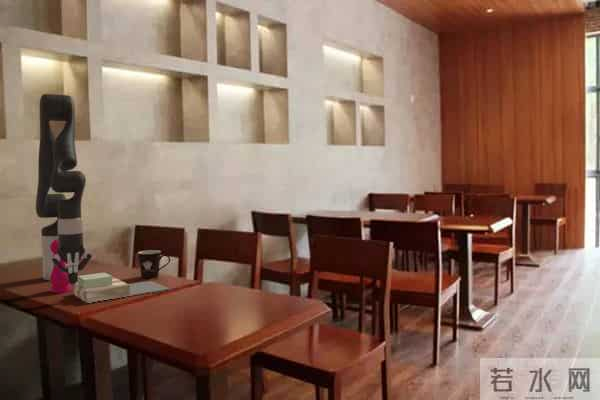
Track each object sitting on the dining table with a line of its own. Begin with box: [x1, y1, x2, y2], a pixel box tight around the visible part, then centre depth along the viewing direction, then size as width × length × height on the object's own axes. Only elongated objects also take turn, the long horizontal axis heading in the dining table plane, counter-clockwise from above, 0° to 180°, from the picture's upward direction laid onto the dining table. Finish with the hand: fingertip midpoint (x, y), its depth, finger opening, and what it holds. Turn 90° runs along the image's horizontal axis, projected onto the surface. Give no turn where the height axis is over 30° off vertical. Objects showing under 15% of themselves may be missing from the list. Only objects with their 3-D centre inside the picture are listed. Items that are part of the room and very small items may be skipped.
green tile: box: [77, 272, 113, 289], centre depth 183 cm, size 8×9×3 cm
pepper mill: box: [49, 236, 72, 294], centre depth 191 cm, size 7×7×20 cm
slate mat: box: [128, 280, 170, 297], centre depth 193 cm, size 16×14×1 cm
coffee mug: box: [137, 249, 171, 280], centre depth 212 cm, size 12×9×10 cm
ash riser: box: [72, 276, 130, 304], centre depth 185 cm, size 16×14×4 cm
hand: (72, 283), depth 179 cm, fingers closed
